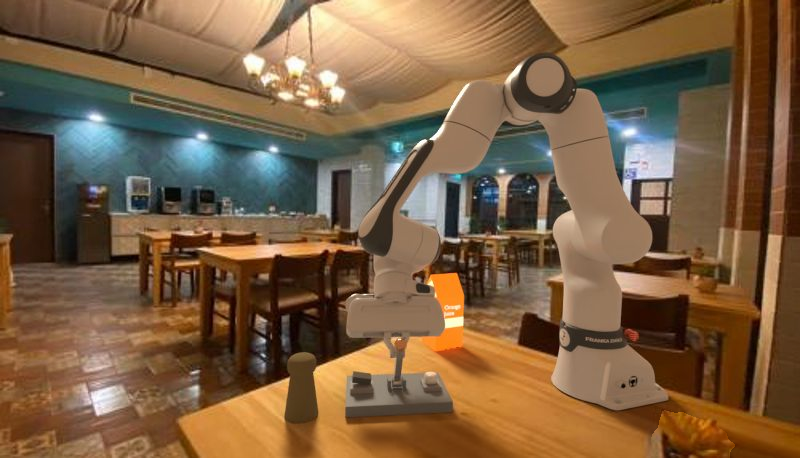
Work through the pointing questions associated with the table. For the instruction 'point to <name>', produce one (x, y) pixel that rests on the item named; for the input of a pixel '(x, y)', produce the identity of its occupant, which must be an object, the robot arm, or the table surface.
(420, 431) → the table surface
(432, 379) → the push button
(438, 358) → the table surface
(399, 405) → the control panel
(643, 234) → the robot arm
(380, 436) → the table surface
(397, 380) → the copper ball joystick
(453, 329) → the orange juice
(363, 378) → the rocker switch
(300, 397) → the brown pawn
